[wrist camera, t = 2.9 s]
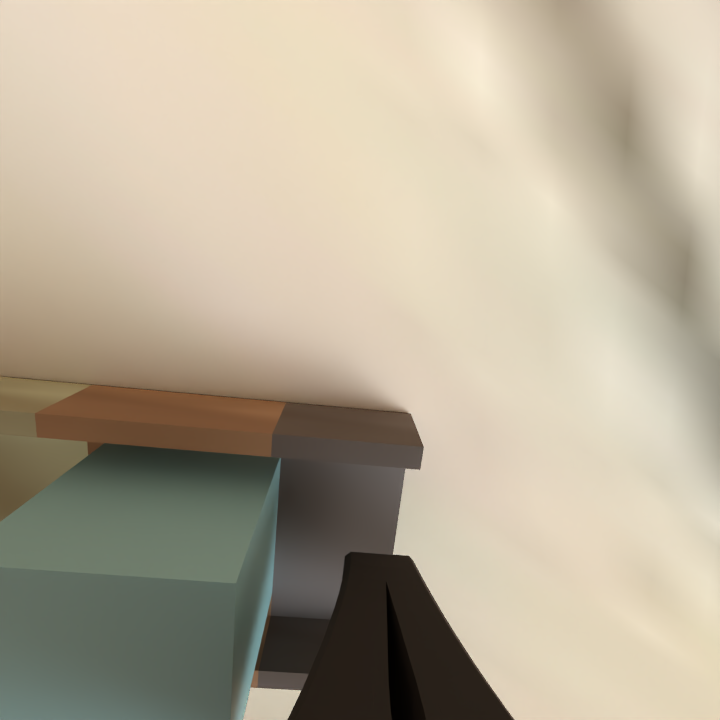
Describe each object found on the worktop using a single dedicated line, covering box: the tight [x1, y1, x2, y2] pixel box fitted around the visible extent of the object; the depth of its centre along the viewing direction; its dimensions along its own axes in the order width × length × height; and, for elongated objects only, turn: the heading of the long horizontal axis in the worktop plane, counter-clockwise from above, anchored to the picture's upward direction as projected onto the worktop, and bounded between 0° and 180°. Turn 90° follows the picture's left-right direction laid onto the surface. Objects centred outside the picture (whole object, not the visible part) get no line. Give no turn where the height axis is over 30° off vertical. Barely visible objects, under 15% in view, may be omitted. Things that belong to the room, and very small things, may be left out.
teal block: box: [0, 443, 281, 720], centre depth 8 cm, size 4×4×4 cm
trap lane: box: [0, 377, 424, 690], centre depth 9 cm, size 6×16×2 cm, turn 84°
